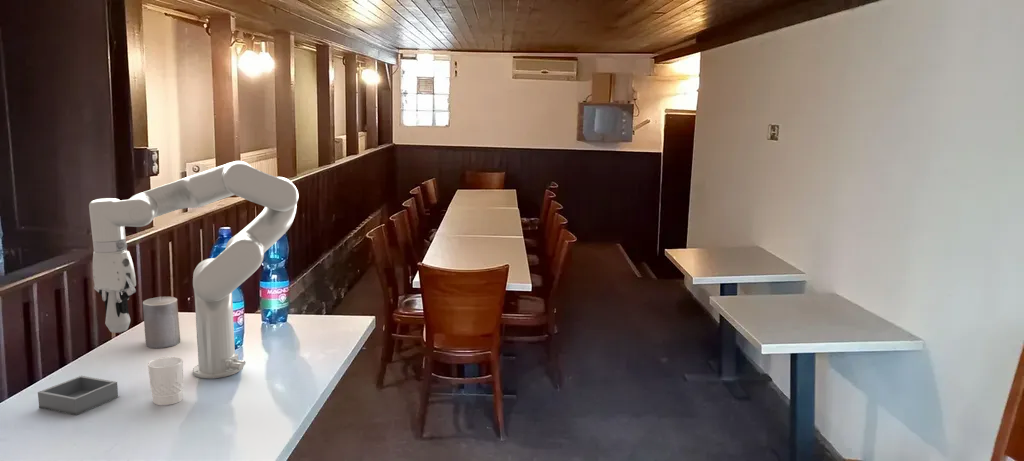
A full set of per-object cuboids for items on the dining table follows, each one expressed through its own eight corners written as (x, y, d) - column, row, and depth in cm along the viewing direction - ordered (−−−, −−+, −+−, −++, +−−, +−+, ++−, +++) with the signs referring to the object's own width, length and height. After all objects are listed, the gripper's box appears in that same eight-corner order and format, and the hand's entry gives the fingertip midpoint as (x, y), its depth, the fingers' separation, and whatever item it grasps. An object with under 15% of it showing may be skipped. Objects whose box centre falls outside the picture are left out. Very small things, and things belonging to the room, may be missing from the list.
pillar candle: (158, 337, 234) (154, 291, 232) (186, 339, 233) (183, 293, 230) (138, 347, 225) (134, 300, 222) (168, 349, 223) (164, 301, 221)
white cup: (192, 396, 188) (189, 359, 186) (168, 408, 181) (166, 369, 179) (167, 392, 191) (165, 355, 189) (143, 403, 183) (140, 365, 182)
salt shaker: (120, 334, 192) (115, 285, 189) (101, 333, 193) (95, 284, 190) (136, 327, 197) (131, 280, 195) (117, 326, 198) (112, 279, 196)
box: (118, 397, 187) (117, 381, 186) (76, 415, 176) (74, 399, 175) (82, 390, 191) (81, 375, 190) (39, 407, 180) (37, 392, 179)
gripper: (146, 245, 192) (153, 314, 195) (98, 242, 197) (105, 308, 201) (122, 251, 185) (129, 322, 188) (73, 247, 190) (81, 316, 194)
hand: (117, 314), depth 194 cm, fingers closed on salt shaker, 3 cm apart
